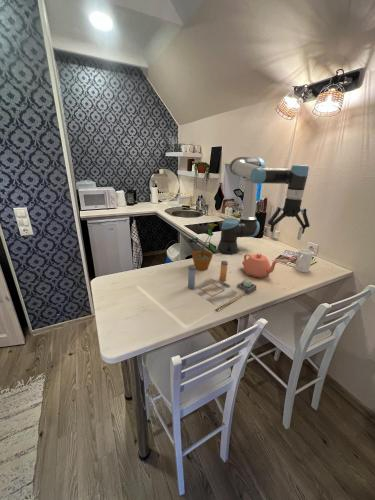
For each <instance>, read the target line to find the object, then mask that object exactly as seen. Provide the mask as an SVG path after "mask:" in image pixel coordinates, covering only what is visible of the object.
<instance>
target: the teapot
mask: <svg viewBox="0 0 375 500" xmlns="http://www.w3.org/2000/svg"><path fill="white" fill-rule="evenodd" d="M278 262H280V260H273V261H272V263H270V261H269V259H268V257H267V256H265V255H263V254H262V253H259V252H258V253H252V254H250V253H245V254H244V256H243V261H242V265H243V267H242V268H243V270H244V272H245V273H246V274H247V275H249V276H250V277H253V278H265V277H267V276H268V275H270V274H271V273H273V272H274V271H275V267H276V264H277V263H278Z"/></svg>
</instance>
